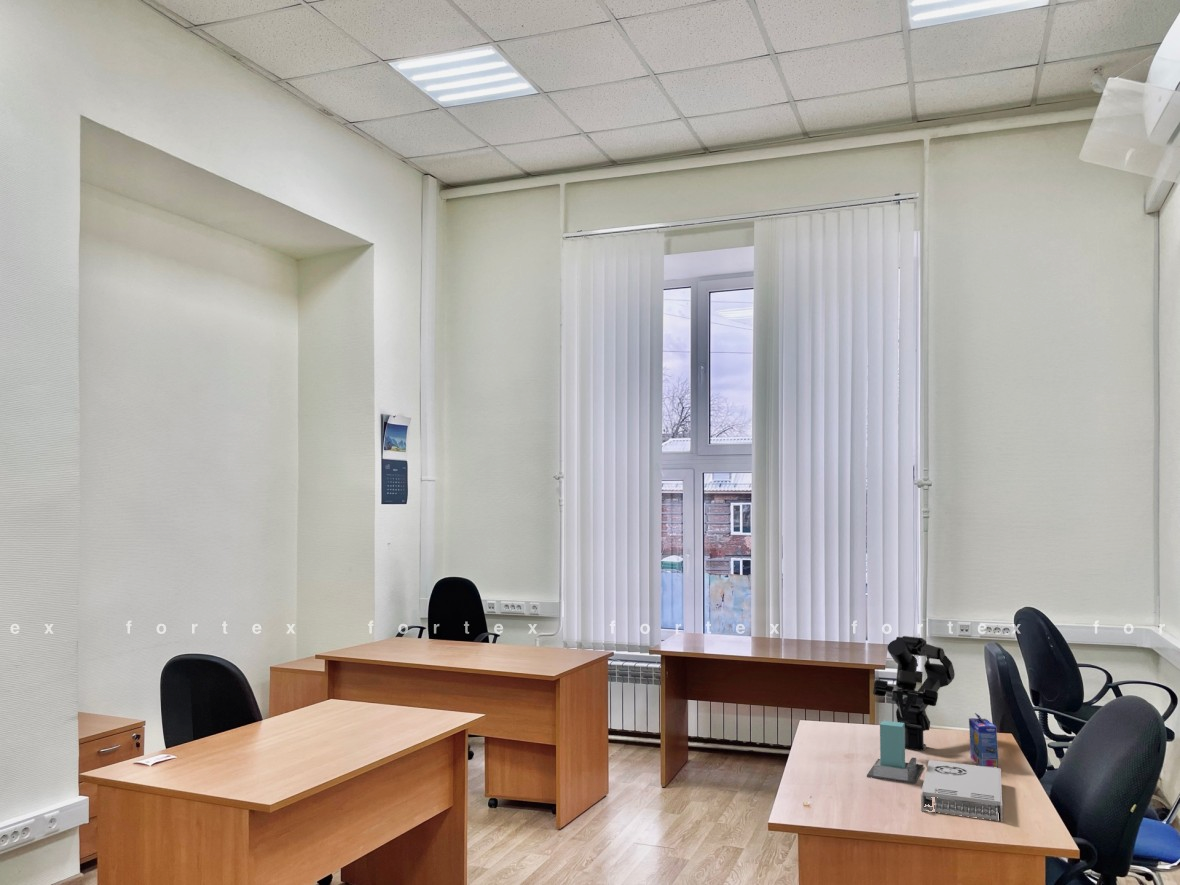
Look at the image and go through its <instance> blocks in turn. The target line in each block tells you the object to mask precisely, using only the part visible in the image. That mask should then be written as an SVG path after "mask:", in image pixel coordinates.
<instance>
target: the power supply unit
mask: <svg viewBox="0 0 1180 885" xmlns="http://www.w3.org/2000/svg"><path fill="white" fill-rule="evenodd" d="M922 783H923V784H922V788H921V792H920V805H921V806H920V809H921V810H920V811H922V813H923V812H924V811H926V810H929V811H932V810H933V807H928V806H926V807H924V806H925V804H926V805H928V804H929V805H930V806H932V798H931V797H935V805H934V809H935V813H934V814H937V813H936V812H940V813H947V814H955V815H962V816H969V817H977V818H984V819H991V820H996V821H995V822H997V821H998V813H1000V823H1001V822H1003V819H1004V818H1003V798H1002V797H1003V795H1002V794H1003V791H1002V790H1003V788H1002V769H1001V768H999V767H998V768H993V767H984V766H979V765H975V764H967V763H957V762H956V763H955V762H948V761H941V760H940V761H938V760H931V759H929V760H928V763H927V766H926V770H925V775H924V779H923V782H922ZM937 789H938V790H937ZM936 792H938V793H936ZM937 797H938V798H937Z"/></svg>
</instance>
